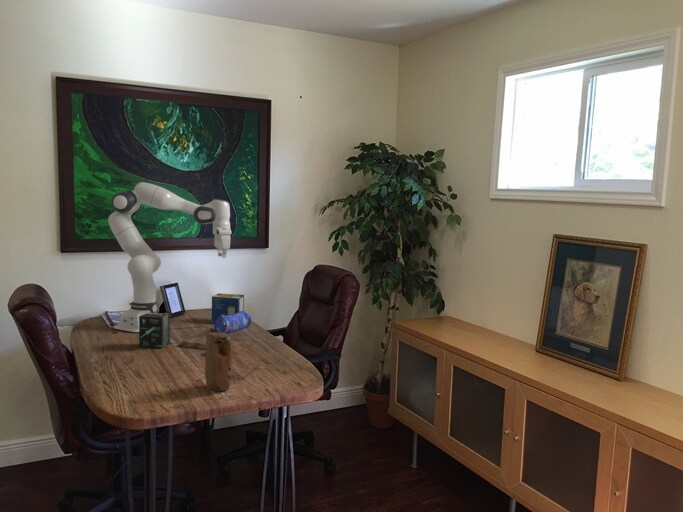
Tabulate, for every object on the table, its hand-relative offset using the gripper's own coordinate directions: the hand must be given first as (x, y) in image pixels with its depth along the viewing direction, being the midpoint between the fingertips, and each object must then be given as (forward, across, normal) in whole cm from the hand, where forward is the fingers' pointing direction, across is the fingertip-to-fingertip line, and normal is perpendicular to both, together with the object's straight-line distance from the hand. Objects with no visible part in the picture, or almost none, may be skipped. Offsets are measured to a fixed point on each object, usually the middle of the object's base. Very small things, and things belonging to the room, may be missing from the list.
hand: (221, 257), depth 289 cm
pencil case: (+39, +4, +4) cm, 39 cm away
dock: (+38, +22, -10) cm, 45 cm away
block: (+39, +88, -22) cm, 99 cm away
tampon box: (+38, +23, -37) cm, 57 cm away
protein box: (+38, -13, +6) cm, 41 cm away
